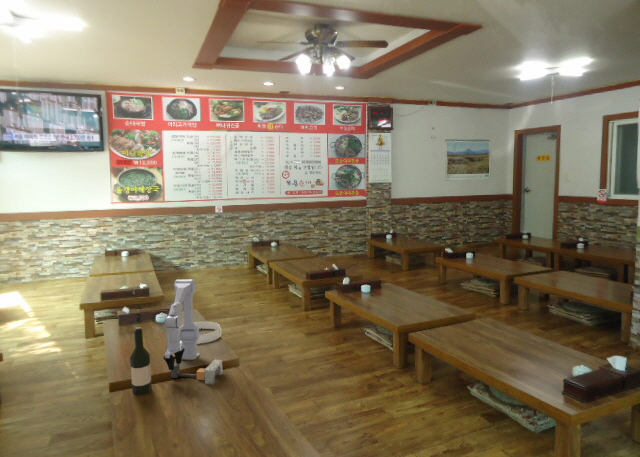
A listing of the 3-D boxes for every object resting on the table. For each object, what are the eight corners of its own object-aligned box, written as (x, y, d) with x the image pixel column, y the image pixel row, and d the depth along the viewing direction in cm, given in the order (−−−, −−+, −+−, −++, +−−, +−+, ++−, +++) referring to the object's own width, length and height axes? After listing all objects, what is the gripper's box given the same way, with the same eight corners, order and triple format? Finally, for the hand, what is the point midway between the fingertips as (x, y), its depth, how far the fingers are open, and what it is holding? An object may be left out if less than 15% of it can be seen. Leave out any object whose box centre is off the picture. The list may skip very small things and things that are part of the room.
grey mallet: (170, 378, 221) (170, 366, 220) (174, 374, 225) (174, 363, 224) (207, 380, 218) (206, 368, 217) (210, 376, 222) (209, 364, 221)
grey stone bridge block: (205, 384, 214) (204, 369, 213) (214, 373, 226) (214, 359, 225) (213, 384, 213) (212, 370, 213) (222, 373, 225) (221, 360, 224)
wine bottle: (155, 387, 211) (151, 325, 208) (143, 396, 203) (139, 331, 200) (141, 385, 214) (137, 324, 210) (128, 393, 206) (124, 329, 202)
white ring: (202, 326, 298) (202, 318, 298) (230, 334, 283) (230, 325, 282) (167, 338, 277) (167, 330, 276) (196, 347, 261) (195, 338, 260)
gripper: (174, 345, 213) (175, 373, 214) (187, 335, 227) (189, 361, 229) (160, 345, 214) (161, 372, 216) (174, 334, 228) (176, 360, 230)
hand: (175, 366), depth 222 cm, fingers open, 7 cm apart
